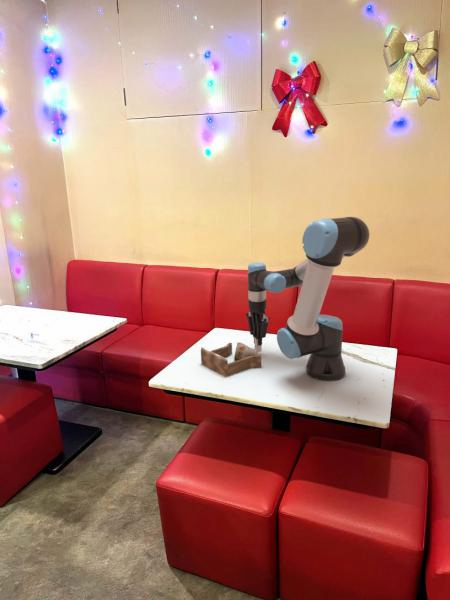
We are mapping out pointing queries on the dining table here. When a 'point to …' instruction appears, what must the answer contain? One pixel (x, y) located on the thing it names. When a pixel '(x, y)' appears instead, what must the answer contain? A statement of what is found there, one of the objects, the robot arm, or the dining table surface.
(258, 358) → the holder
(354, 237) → the robot arm
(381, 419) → the dining table surface
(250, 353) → the mottled brown rock
